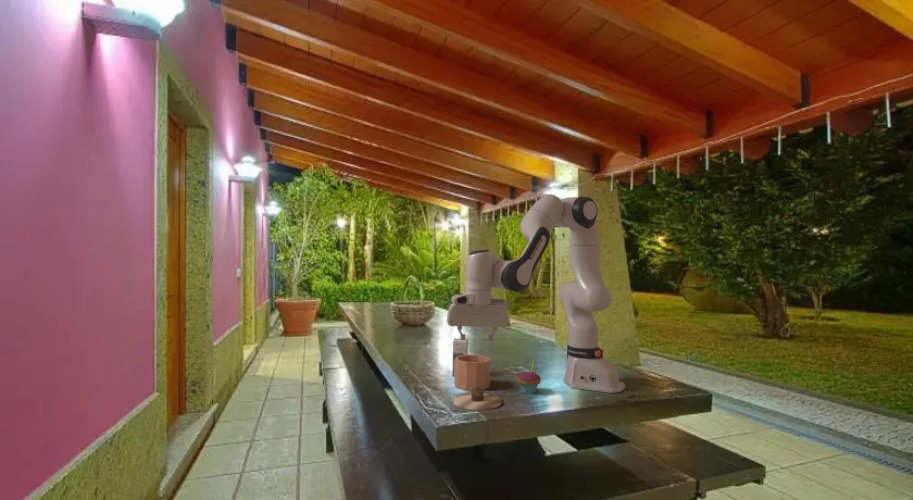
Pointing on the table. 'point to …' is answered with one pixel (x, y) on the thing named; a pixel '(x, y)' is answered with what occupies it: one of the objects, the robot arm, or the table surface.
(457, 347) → the syrup box
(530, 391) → the cupcake
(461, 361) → the pot
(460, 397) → the lid
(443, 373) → the table surface
